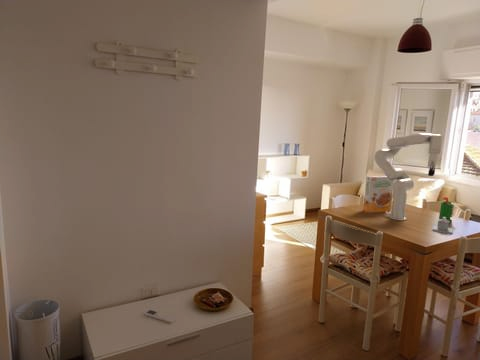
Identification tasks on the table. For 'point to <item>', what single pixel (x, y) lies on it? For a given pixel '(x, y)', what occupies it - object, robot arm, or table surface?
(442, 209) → the green toy figure
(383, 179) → the cereal box
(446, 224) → the hub
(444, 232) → the shaft block
